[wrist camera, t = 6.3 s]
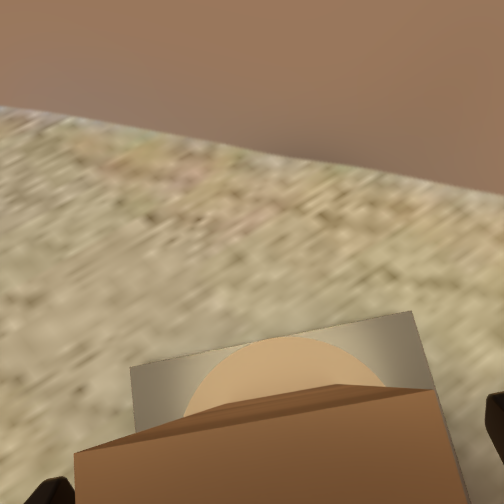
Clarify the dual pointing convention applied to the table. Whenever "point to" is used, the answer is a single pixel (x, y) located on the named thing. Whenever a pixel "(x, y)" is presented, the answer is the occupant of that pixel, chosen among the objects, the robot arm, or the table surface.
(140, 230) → the table surface
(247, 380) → the slate board
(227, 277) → the table surface
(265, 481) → the walnut block
